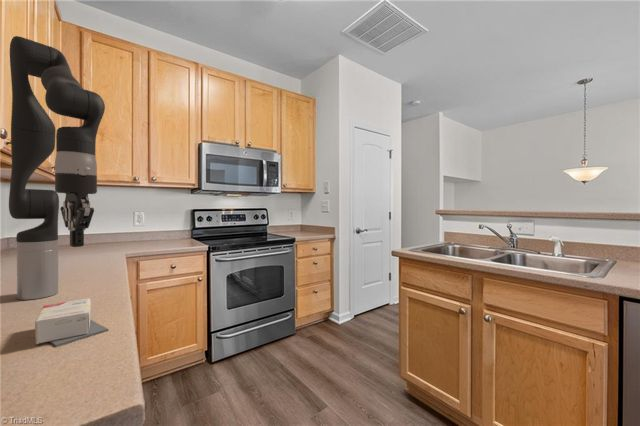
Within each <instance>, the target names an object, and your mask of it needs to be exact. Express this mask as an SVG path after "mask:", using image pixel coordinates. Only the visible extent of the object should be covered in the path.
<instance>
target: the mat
mask: <svg viewBox="0 0 640 426" xmlns="http://www.w3.org/2000/svg"><path fill="white" fill-rule="evenodd" d="M105 331H106V332H108V331H109V328H107V327H105V326H104V325H102V324H100V323H97V322H96V321H94V320H92V319H90V327H89V332H88V334H83V335H78V336H73V337H68V338H64V339H59V340H53V341H48V342H49V343H50V344H52V345H53V346H55V348H57V347H60V346H63V345H67V344H69V343H73V342H76V340H77V341H79V339H80V340H83V339H86V338H90V337H93V336H95V335H98V334H99V335H100V334H102V333H105ZM92 335H93V336H92ZM89 336H90V337H89ZM85 337H86V338H85ZM72 341H73V342H72Z"/></svg>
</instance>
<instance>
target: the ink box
mask: <svg viewBox="0 0 640 426" xmlns="http://www.w3.org/2000/svg"><path fill="white" fill-rule="evenodd" d="M91 315H92V304H91V297H90V298H89V297H88V298H82V299H75V300H70V301H64V302H58V303H54V304H47V305H43V307H42V308H41V310H40V312H39V314H38V316H37V318H36V319H35V322H34V329H35V330H34V331H35V334H34V335H35V344H36V345H38V344H43V343H47V342H49V341H53V340H59V339H64V338H68V337H73V336H78V335H83V334H88V332H89V327H90V320H92V318H91V317H92V316H91Z"/></svg>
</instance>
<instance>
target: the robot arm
mask: <svg viewBox="0 0 640 426" xmlns="http://www.w3.org/2000/svg"><path fill="white" fill-rule="evenodd" d="M9 66H10V79H11V80H10V81H11V95H12V96H11V119H10V148H11V149H10V152H11V153H10V154H11V173H10V181H9V184H10V186H9V195H8V211H9V215H10V216H11V218H12V219H15V220H39V219H40V220H43V219H44V220H43V222H42V223H40V224H39V225H37V226H35V227H33V228H29V229H25V230H22V231H19V232H17V233H16V237H15V239H16V242H15V243H16V298H17V300H20V301H21V300H23V301H24V300H25V301H26V300H35V299H43V298H47V297H51V296H54V295H55V296H56V295H57V294H58V293H59V214H60V213H59V212H61V216H62V220H63V223H64V227H65V228H67V230H68V231H69V246H70V247H72V248H80V247H83V246H84V244H85V242H84V241H85V231H86V229H89V227H90V225H91V221H92V219H93V215H94V214H95V213H94V212H95V209H94V207H91V201H90V199H89V195H96V194H97V193H98V164H97V158H96V144H97V143H96V141H97V135H98V130H99V127H100V124H101V121H102V120H103V116H104V114H105V109H106V105H105V101H104V100H103V98H102V97H101V95H100V94H98V93H96V92H94V91H91V90H87V89H84V88H83V86H82V85H81V84H80V82H79V81H78V80H77V79H76V78H75V77H74V75H73V73H72V70H71V68H70V65H69V64H68V60H67V59H66V57H65V55H64V54H63V52H62V51H60V50H59V49H57V48H55V47H52V46H50V45H47V44H44V43H40V42H37V41H35V40H32V39H29V38H25V37H23V36H17V35H15V36H13V37H12V38H11V40H10V42H9ZM29 76H31V77H36V78H39V79H40V81H41V84H42V87H43V88H44V90H45V91H46V92H45V95H44V99H45V104H46V107H47V108H48V109H49V110H50V111H51V112H53V113H55V114H57V115H59V116H63V117H66V118H68V117H69V118H73V119H77V120H82V121H83V123H82V125H81V126H61V127H58V128H57V130H56V125H55V124H54V122H53V120H52V119H51V117H50V116H49V114H48V112H47V111H46V110H45V108H43V106H42V105H41V104H40V103H41V102H39V100H38V99H37V96H36V95H35V93H34V91H33V89H32V86H31V83H30V80H29ZM55 150H56V153H55V159H54V190H53V189H38V188H37V189H35V188H26V187H27V184H28V181H29V180H30V178H31V176H32V175H33V173H34V172H35V171H36V170H37V169H38V168H39V167H40V166H41V165H42V164H43V163H44V162H45V161H46V160H47V159H49V157H50V156H51V155H52V153H53V152H54V151H55ZM59 194H65V198H64V201H63V202H62V203H63V204H62V205H63V206H60V198H59Z"/></svg>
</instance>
